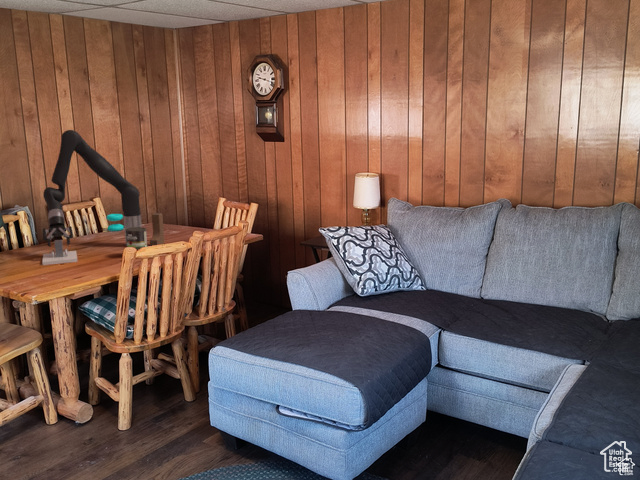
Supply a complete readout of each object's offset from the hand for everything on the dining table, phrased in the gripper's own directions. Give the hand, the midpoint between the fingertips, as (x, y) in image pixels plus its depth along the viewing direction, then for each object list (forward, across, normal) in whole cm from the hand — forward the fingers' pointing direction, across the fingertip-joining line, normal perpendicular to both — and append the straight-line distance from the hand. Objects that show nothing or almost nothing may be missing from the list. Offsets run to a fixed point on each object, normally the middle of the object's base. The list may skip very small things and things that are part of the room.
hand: (58, 245), depth 306 cm
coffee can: (+11, +37, 0) cm, 39 cm away
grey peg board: (+5, 0, +6) cm, 7 cm away
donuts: (-44, +33, +55) cm, 78 cm away
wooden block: (-1, +50, +12) cm, 52 cm away
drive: (+4, 0, +5) cm, 6 cm away
